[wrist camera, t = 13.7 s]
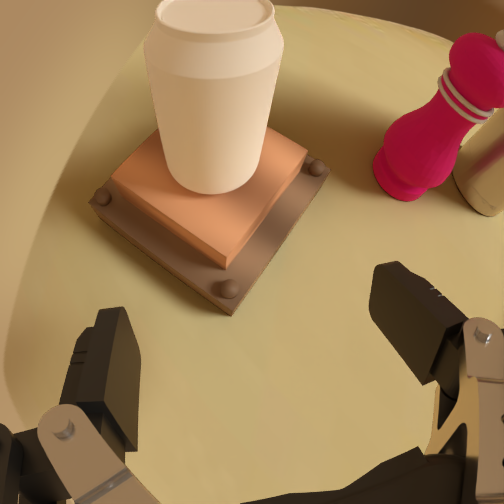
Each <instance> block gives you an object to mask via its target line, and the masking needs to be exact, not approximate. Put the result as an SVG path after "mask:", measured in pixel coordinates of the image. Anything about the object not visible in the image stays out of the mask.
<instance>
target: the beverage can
mask: <svg viewBox="0 0 504 504" xmlns="http://www.w3.org/2000/svg"><path fill="white" fill-rule="evenodd" d="M274 13H275V9H274V6H273V4H272V3H271V2H270V1H269V0H163V1H161V2H160V3H159V4H158V6H157V7H156V9H155V21H154V23H153V25H152V27H151V29H150V31H149V33H148V35H147V37H146V39H145V42H144V55H145V61H146V66H147V72H148V77H149V83H150V88H151V93H152V98H153V103H154V108H155V113H156V118H157V123H158V128H159V132H160V137H161V141H162V146H163V150H164V154H165V159H166V162H167V166H168V169H169V171H170V173H171V175H172V176H173V177H174V179H175V180H176V181H177V182H178V183H179V184H181V185H182V186H183V187H185V188H187V189H189V190H191V191H194V192H197V193H201V194H222V193H226V192H230V191H232V190H235V189H237V188H239V187H240V186H242V185H243V184H245V183H246V182H247V181H248V180H249V179H250V178H251V177H252V175H253V174H254V172H255V170H256V168H257V166H258V162H259V159H260V154H261V150H262V145H263V141H264V136H265V132H266V127H267V122H268V118H269V113H270V108H271V104H272V99H273V94H274V90H275V85H276V81H277V76H278V71H279V67H280V62H281V58H282V53H283V48H284V41H283V38H282V35H281V33H280V31H279V28H278V26H277V24H276V22H275V19H274Z"/></svg>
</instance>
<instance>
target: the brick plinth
mask: <svg viewBox="0 0 504 504" xmlns="http://www.w3.org/2000/svg"><path fill="white" fill-rule="evenodd" d="M307 152H308V150H307V149H305V148H303V147H302V146H300V145H298V144H297V143H295V142H293V141H292V140H290V139H288V138H286V137H285V136H283V135H281V134H280V133H278V132H276V131H274V130H273V129H271V128H269V127H266V132H265V136H264V141H263V145H262V150H261V154H260V159H259V162H258V166H257V168H256V170H255V172H254V174H253V175H252V177H251V178H250V179H249V180H248V181H247V182H246V183H245V184H243V185H242V186H240V187H239V188H237V189H235V190H232V191H230V192H226V193H222V194H201V193H197V192H194V191H191V190H189V189H187V188H185V187H183V186H182V185H181V184H179V183H178V182H177V181H176V180H175V179H174V177H173V176H172V175H171V173H170V171H169V169H168V166H167V162H166V159H165V154H164V150H163V146H162V141H161V137H160V132H159V128H158V129H157V130H156V131H155V132H154V133H153V134H152V135H151V136H149V137H148V138H147V139H146V140H145V141H144V142H143V143H142V144H141V145H140V146H139V147H138V148H137V149H136V150H135V151H134V152H133V153H132V154H131V155H130V156H129V157H128V158H127V159H126V160H125V161H124V162H123V163H122V164H121V165H120V166H119V167H118V169H117V170H116V171H115V172H114V173H113V174H112V175H111V178H110V179H109V180H108V181H107V182H106V183H105V184H104V185H103V186H102V187H101V188H99V189H98V190H97V191H96V192H95V194H94V196H93V198H92V199H91V200H90V201H89V202H88V203H89V204H90V205H91V207H92V208H93V209H94V211H95V212H96V213H97V215H98V216H99V217H100V218H101V219H102V220H103V221H104V222H106V223H107V224H108V225H109V226H111V227H112V228H113V229H114V230H116V231H117V232H118V233H119V234H121V235H122V236H123V237H124V238H126V239H127V240H128V241H129V242H131V243H132V244H133V245H135V246H136V247H137V248H138V249H140V250H141V251H142V252H144V253H145V254H146V255H148V256H149V257H150V258H151V259H153V260H154V261H155V262H157V263H158V264H159V265H161V266H162V267H163V268H165V269H166V270H167V271H169V272H170V273H171V274H173V275H174V276H175V277H177V278H178V279H180V280H181V281H182V282H184V283H185V284H186V285H188V286H189V287H190V288H192V289H193V290H195V291H196V292H197V293H199V294H200V295H202V296H203V297H204V298H206V299H207V300H209V301H210V302H211V303H213V304H214V305H216V306H217V307H218V308H220V309H221V310H223V311H224V312H226V313H227V314H228V315H230V316H232V315H233V314H234V312H235V311H236V309H237V308H238V306H239V305H240V304H241V302H242V301H243V299H244V298H245V297H246V295H247V294H248V292H249V291H250V289H251V288H252V287H253V285H254V284H255V282H256V281H257V279H258V278H259V277H260V275H261V274H262V272H263V271H264V269H265V268H266V267H267V265H268V264H269V262H270V261H271V259H272V258H273V256H274V255H275V254H276V252H277V251H278V249H279V248H280V246H281V245H282V243H283V242H284V241H285V239H286V238H287V236H288V235H289V233H290V232H291V230H292V229H293V227H294V226H295V225H296V223H297V222H298V220H299V219H300V217H301V216H302V214H303V213H304V211H305V210H306V208H307V207H308V205H309V204H310V203H311V201H312V200H313V198H314V197H315V195H316V194H317V192H318V191H319V189H320V188H321V186H322V184H323V183H324V181H325V179H326V177H327V176H328V174H329V172H330V170H331V169H329V168H328V167H326V166H325V164H324V163H323V162H322V161H321V160H318V159H313V158H312V157H310V156H309V155H307Z"/></svg>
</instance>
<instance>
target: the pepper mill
mask: <svg viewBox="0 0 504 504" xmlns="http://www.w3.org/2000/svg"><path fill="white" fill-rule="evenodd" d="M449 61H450V66H451V68H450V67H449V68H446V69H445V70H444V71H443V75H442V76H440V77H439V78H438V87H439V89H438V91H437V93H436V94H435V96H434V97H433V98H432V99H431V101H430V102H428V103H427V104H426V105H424V106H423V107H421V108H419V109H417V110H414V111H412V112H410V113H407V114H405V115H403V116H402V117H400V118H399V119H397V120H396V121H395V122H394V123H393V124H392V125H391V126H390V127H389V129H388V130H387V132H386V134H385V137H384V145H383V146H382V147H381V149H380V150H379V152H378V153H377V154H376V156H375V158H374V160H373V171H374V175H375V177H376V179H377V181H378V183H379V184H380V186H381V187H382V188H383V189H384V190H385V191H386V192H387V193H388V194H389V195H391V196H393V197H394V198H396V199H399V200H402V201H413V200H416V199H418V198H419V197H420V196H421V195H422V194H423V193H424V192H425V191H426V190H427V189H428V188H433V187H437V186H438V185H440V184H442V183H443V182H444V181H445V180H446V178H447V177H448V176H449V175H450V173H451V171H452V169H453V167H454V165H455V161H456V158H457V154H458V150H459V146H460V143H461V141H462V139H463V137H464V136H465V135H466V134H467V132H468V131H469V130H470V129H471V128H472V127H473V126H474V125H476V124H484V123H485V122H486V121H487V119H488V117H490V116H492V115H493V113H494V108H504V30H501V31H499V32H498V33H497V34H496V40H494V39H493V38H491V37H489V36H486V35H484V34H480V33H468V34H465V35H463V36H461V37H459V38H458V39H457V40H456V41H455V43H454V44H453V45H452V47H451V50H450V53H449Z"/></svg>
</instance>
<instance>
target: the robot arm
mask: <svg viewBox="0 0 504 504" xmlns="http://www.w3.org/2000/svg"><path fill="white" fill-rule="evenodd" d="M452 172H453V176H454V179H455V182H456V184H457V186H458V188H459V190H460V192H461V193H462V195H463V196H464V198H465V199H466V200H467V202H468V203H469V204H470V205H471V206H472V207H473V208H474V209H475V210H477V211H478V212H479V213H481V214H483V215H486V216H495V215H497V214H499V213H500V212H502V211H503V210H504V108H499V109H498V110H497V111H496V112H495V113H494V114H493V115H492V117H491V118H490V119H489V120H488V121H487V122H486V123H485V124H484V125H483V126H482V127H481V128H480V129H479V130H478V131H477V132H476V133H475V134H474V135H473V136H472V137H471V138H470V139H469V140H468V141H467V142H466V143H465V144H464V145H463V146H462V148H461V149H460V150H459V151H458V154H457V158H456V161H455V165H454V167H453V169H452ZM369 312H370V315H371V318H372V320H373V321H374V323H375V324H376V325H377V326H378V328H379V329H380V330H381V331H382V333H383V334H384V335H385V337H386V338H387V339H388V340H389V342H390V343H391V344H392V346H393V347H394V348H395V350H396V351H397V352H398V353H399V355H400V356H401V357H402V359H403V360H404V361H405V363H406V364H407V365H408V367H409V368H410V369H411V371H412V372H413V373H414V375H415V376H416V377H417V379H418V380H419V381H420V383H421V384H422V385H425V384H427V383H430V382H432V381H434V380H436V381H437V382H438V385H437V387H436V390H435V401H434V413H433V423H432V432H431V438H430V441H429V444H428V446H427V449H426V451H425V454H424V455H423V453H422V452H421V450H420V448H419V447H418V446H417V447H415V448H413V449H411V450H409V451H407V452H405V453H403V454H401V455H398V456H396V457H394V458H392V459H389V460H387V461H385V462H382V463H380V464H379V465H378V466H376V467H375V468H373V469H372V470H371V471H369V472H368V473H366V474H365V475H363V476H362V477H360V478H359V479H357V480H356V481H354V482H353V483H351V484H350V485H348V486H347V487H345V488H343V489H340V490H334V491H323V492H308V493H288V494H284V495H280V496H276V497H271V498H267V499H262V500H257V501H251V502H246V503H240V504H504V329H500V328H499V327H498V326H497V325H496V324H495V323H493V322H492V321H490V320H488V319H485V318H478V317H476V318H471V319H468V318H467V317H466V316H465V315H464V314H463V313H462V312H461V311H460V310H459V309H458V308H457V307H456V306H455V305H454V304H452V303H451V302H450V301H449V300H448V299H447V298H446V297H445V296H442V294H441V293H440V292H439V291H438V290H437V289H434V286H433V285H431V284H430V283H429V282H428V281H427V280H426V279H424V278H422V277H420V276H418V275H416V274H414V273H412V272H410V271H409V270H408V269H407V268H406V267H405V266H404V265H402V264H401V263H400V262H398V261H394V262H389V263H384V264H379V265H377V266H376V267H375V269H374V273H373V280H372V287H371V293H370V299H369ZM140 371H141V356H140V350H139V346H138V343H137V340H136V338H135V335H134V332H133V329H132V327H131V324H130V321H129V318H128V315H127V312H126V310H125V308H124V307H115V308H107V309H100V310H99V312H98V315H97V318H96V321H95V325H94V327H87V328H86V329H85V330H84V331H83V333H82V334H81V335H80V336H79V338H78V339H77V341H76V344H75V348H74V351H73V355H72V358H71V361H70V365H69V368H68V371H67V375H66V379H65V382H64V386H63V390H62V394H61V398H60V402H59V405H58V406H55V407H53V408H51V409H50V410H48V411H47V412H46V413H45V414H44V415H43V416H42V418H41V419H40V421H39V424H38V427H37V428H34V429H30V430H27V431H24V432H19V433H16V434H12V433H11V431H9V429H8V428H7V427H6V426H5V425H3V424H1V423H0V504H18V494H19V504H66V499H70V498H72V499H73V500H74V502H75V504H161V503H160V502H159V501H158V500H157V499H156V498H155V497H154V496H153V495H152V494H151V493H150V492H149V491H148V490H147V489H146V488H145V487H144V485H143V484H142V483H141V482H140V481H139V480H138V479H137V478H136V477H135V476H134V474H133V473H132V472H131V471H130V470H129V469H128V467H127V466H126V465H125V452H136V451H138V407H139V387H140Z"/></svg>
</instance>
